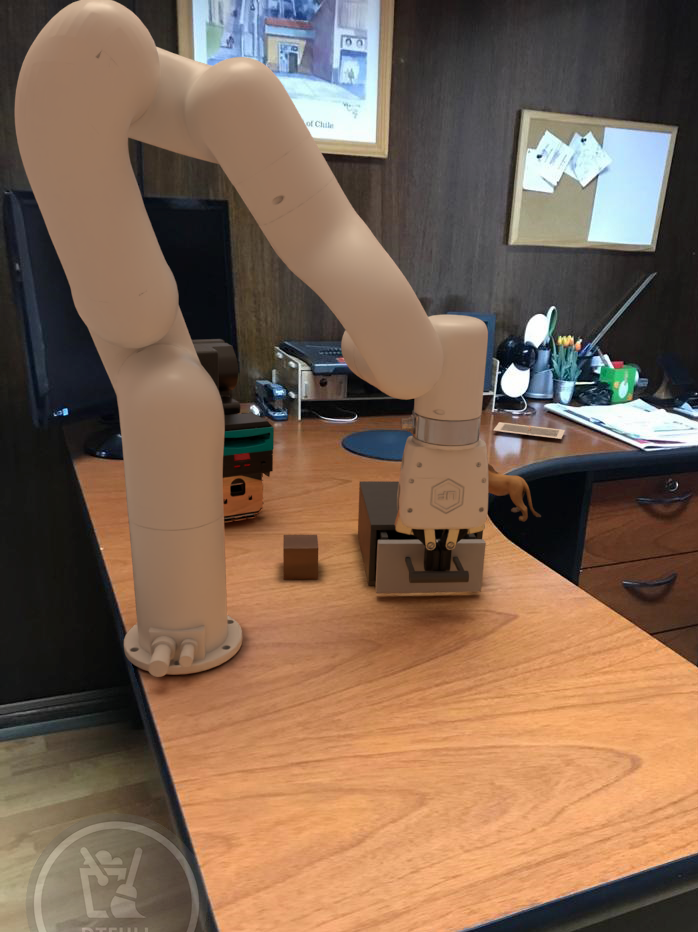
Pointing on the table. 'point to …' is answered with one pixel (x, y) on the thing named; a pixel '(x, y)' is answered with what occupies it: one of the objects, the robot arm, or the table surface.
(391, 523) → the cabinet
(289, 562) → the block
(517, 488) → the lion figurine
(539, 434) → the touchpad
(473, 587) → the drawer
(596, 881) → the table surface
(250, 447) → the bill acceptor
